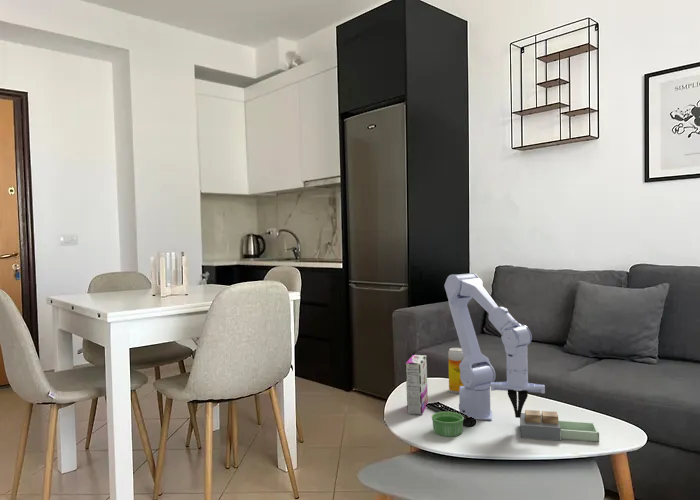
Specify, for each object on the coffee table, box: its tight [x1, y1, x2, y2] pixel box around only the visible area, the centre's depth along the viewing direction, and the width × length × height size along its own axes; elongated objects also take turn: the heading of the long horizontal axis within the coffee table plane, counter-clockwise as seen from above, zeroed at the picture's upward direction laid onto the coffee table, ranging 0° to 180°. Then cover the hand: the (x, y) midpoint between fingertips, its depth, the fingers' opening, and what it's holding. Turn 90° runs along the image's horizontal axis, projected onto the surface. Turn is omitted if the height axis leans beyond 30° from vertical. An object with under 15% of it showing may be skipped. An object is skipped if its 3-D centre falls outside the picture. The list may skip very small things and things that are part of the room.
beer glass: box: [447, 347, 464, 394], centre depth 188 cm, size 6×6×15 cm
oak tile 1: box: [524, 409, 542, 423], centre depth 148 cm, size 4×4×2 cm
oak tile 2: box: [541, 410, 559, 424], centre depth 147 cm, size 4×4×2 cm
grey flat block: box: [519, 412, 562, 441], centre depth 148 cm, size 10×10×4 cm
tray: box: [558, 419, 600, 443], centre depth 145 cm, size 10×8×2 cm
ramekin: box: [431, 411, 465, 438], centre depth 150 cm, size 9×9×4 cm
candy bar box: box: [405, 354, 429, 416], centre depth 170 cm, size 11×5×16 cm, turn 162°
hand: (517, 416), depth 149 cm, fingers closed
